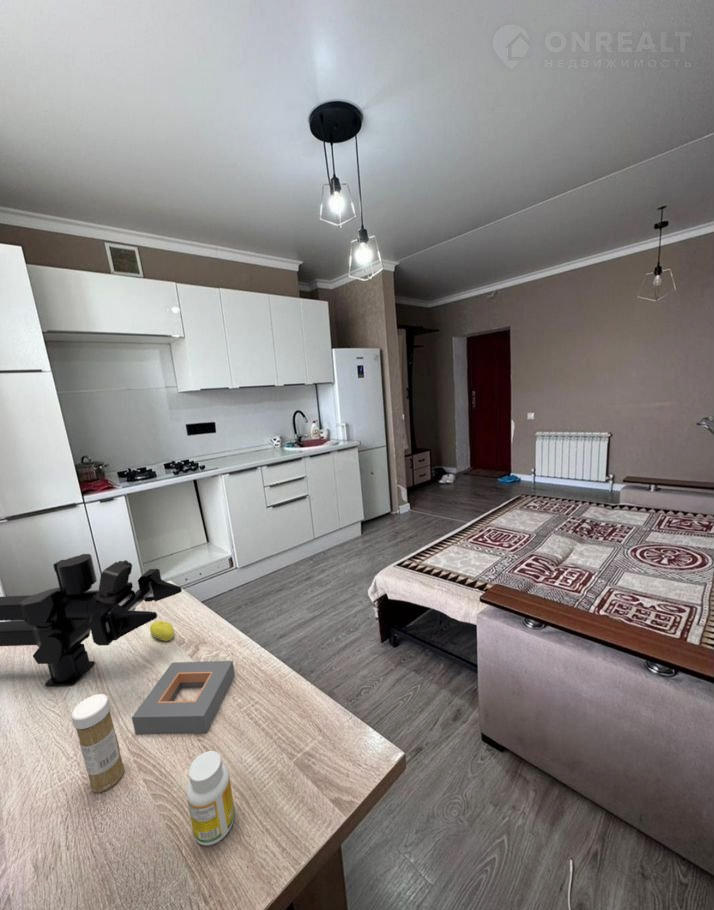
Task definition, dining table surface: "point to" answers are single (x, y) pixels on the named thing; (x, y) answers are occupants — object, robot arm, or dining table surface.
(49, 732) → the dining table surface
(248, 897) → the dining table surface
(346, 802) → the dining table surface
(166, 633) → the lemon
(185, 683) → the collar block
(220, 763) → the supplement bottle
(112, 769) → the sprinkles bottle
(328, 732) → the dining table surface
